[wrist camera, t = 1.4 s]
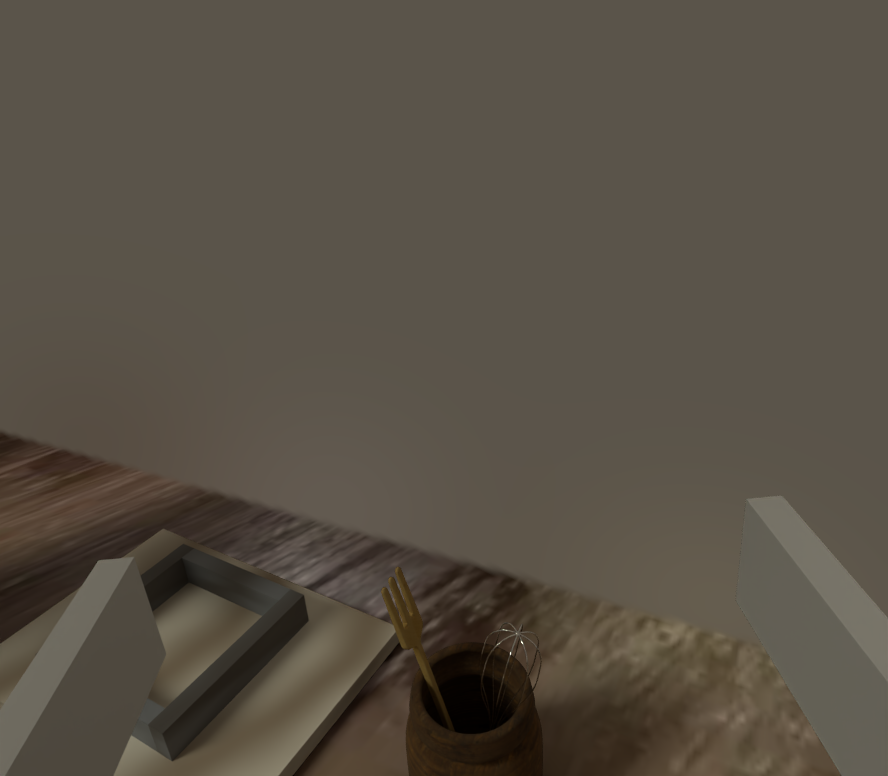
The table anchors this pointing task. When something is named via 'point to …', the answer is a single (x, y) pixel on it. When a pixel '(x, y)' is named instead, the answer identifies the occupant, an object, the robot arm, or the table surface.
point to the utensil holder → (467, 703)
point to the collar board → (231, 664)
